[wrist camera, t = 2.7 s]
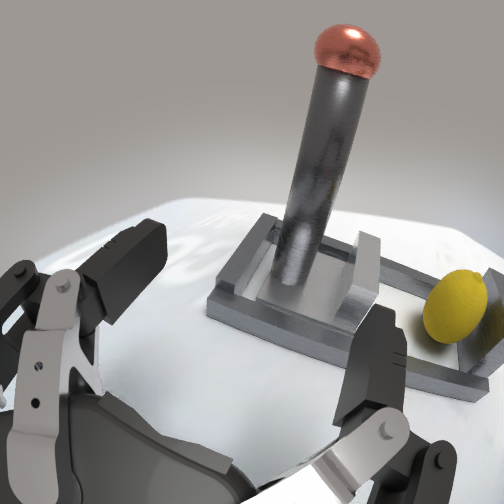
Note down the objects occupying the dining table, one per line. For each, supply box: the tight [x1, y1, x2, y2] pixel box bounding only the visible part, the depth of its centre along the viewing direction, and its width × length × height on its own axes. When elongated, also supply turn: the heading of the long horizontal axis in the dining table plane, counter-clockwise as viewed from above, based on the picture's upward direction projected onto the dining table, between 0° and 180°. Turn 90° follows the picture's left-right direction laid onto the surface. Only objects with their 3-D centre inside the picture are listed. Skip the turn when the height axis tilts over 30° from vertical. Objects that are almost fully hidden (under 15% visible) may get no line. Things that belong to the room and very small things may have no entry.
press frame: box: [207, 213, 504, 402], centre depth 21 cm, size 26×13×7 cm, turn 68°
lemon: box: [423, 270, 488, 344], centre depth 20 cm, size 6×6×8 cm
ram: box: [256, 24, 381, 337], centre depth 18 cm, size 8×8×21 cm
